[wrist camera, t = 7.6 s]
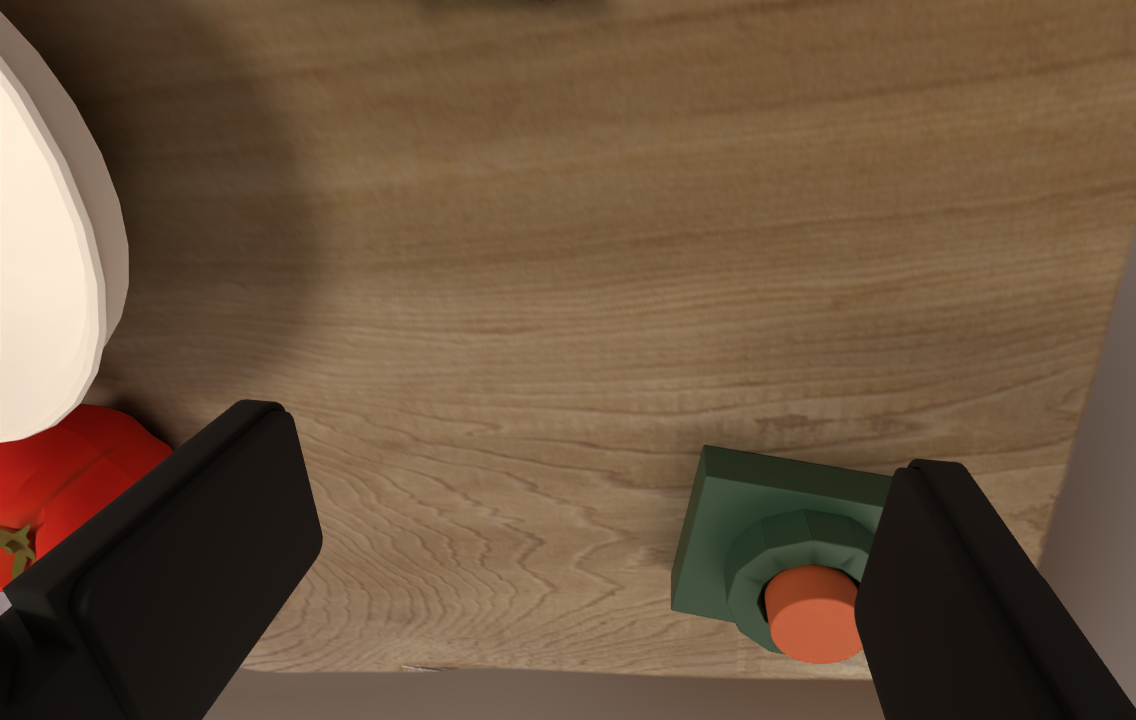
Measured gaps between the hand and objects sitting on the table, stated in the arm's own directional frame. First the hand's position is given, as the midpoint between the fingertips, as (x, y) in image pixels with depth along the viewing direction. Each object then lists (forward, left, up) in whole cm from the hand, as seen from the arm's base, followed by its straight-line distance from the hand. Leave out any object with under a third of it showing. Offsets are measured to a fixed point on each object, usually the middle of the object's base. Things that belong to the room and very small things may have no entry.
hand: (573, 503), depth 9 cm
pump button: (-9, +12, -11) cm, 19 cm away
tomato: (+25, +16, -15) cm, 33 cm away
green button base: (-9, +13, -15) cm, 22 cm away
